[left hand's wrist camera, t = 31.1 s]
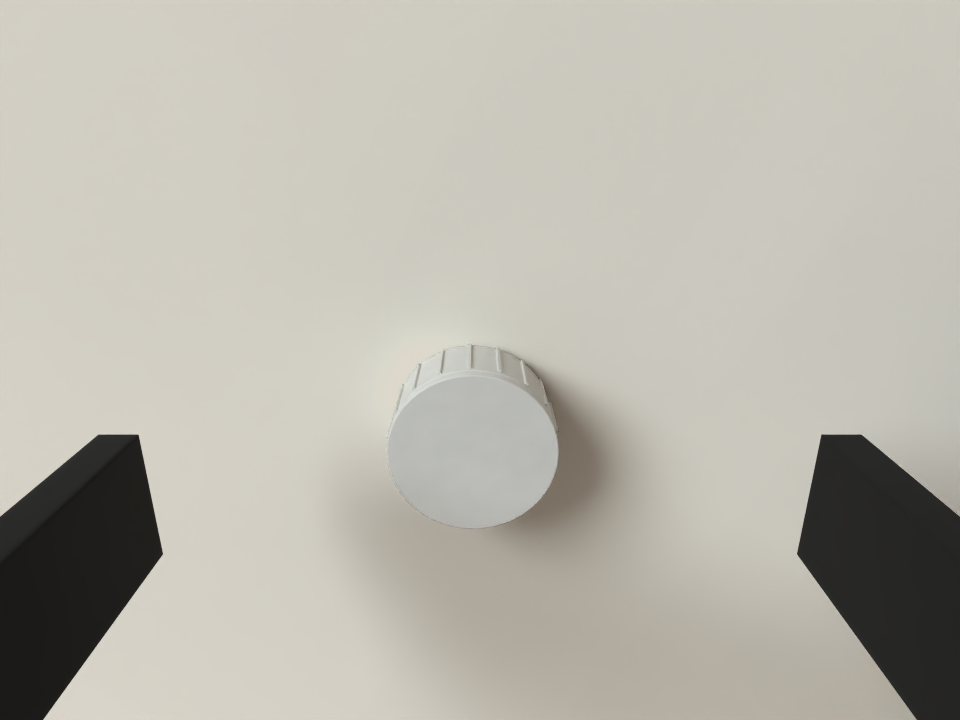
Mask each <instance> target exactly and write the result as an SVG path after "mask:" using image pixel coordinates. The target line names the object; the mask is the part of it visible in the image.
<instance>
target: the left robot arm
mask: <svg viewBox="0 0 960 720" xmlns="http://www.w3.org/2000/svg"><path fill="white" fill-rule="evenodd" d="M162 555H163V552H162V547H161V542H160V538H159V533H158V528H157V523H156V518H155V513H154V508H153V503H152V498H151V494H150V489H149V484H148V479H147V474H146V469H145V464H144V459H143V455H142V450H141V445H140V440H139V435H98V436H96V437H95V438H94V439H93V440H92V441H90V442H89V443H88V444H87V445H86V446H84V447H83V448H82V449H81V450H80V451H78V452H77V453H76V454H75V455H74V456H72V457H71V458H70V459H69V460H68V461H66V462H65V463H64V464H63V465H62V466H61V467H59V468H58V469H57V470H56V471H55V472H53V473H52V474H51V475H50V476H49V477H47V478H46V479H45V480H44V481H43V482H41V483H40V484H39V485H38V486H37V487H35V488H34V489H33V490H32V491H31V492H29V493H28V494H27V495H26V496H25V497H23V498H22V499H21V500H20V501H19V502H17V503H16V504H15V505H14V506H13V507H11V508H10V509H9V510H8V511H7V512H5V513H4V514H3V515H2V516H1V517H0V720H43V719H44V718H45V716H46V715H47V714H48V712H49V711H50V709H51V708H52V707H53V705H54V704H55V702H56V701H57V700H58V698H59V697H60V696H61V694H62V693H63V691H64V690H65V689H66V687H67V686H68V685H69V683H70V682H71V680H72V679H73V678H74V676H75V675H76V673H77V672H78V671H79V669H80V668H81V667H82V665H83V664H84V662H85V661H86V660H87V658H88V657H89V656H90V654H91V653H92V651H93V650H94V649H95V647H96V646H97V644H98V643H99V642H100V640H101V639H102V638H103V636H104V635H105V633H106V632H107V631H108V629H109V628H110V627H111V625H112V624H113V622H114V621H115V620H116V618H117V617H118V615H119V614H120V613H121V611H122V610H123V609H124V607H125V606H126V604H127V603H128V602H129V600H130V599H131V598H132V596H133V595H134V593H135V592H136V591H137V589H138V588H139V586H140V585H141V584H142V582H143V581H144V580H145V578H146V577H147V575H148V574H149V573H150V571H151V570H152V569H153V567H154V566H155V564H156V563H157V562H158V560H159V559H160V558H161V556H162ZM797 555H798V556H799V558H800V559H801V560H802V562H803V563H804V564H805V566H806V567H807V569H808V570H809V571H810V573H811V574H812V575H813V577H814V578H815V580H816V581H817V582H818V584H819V585H820V586H821V588H822V589H823V591H824V592H825V593H826V595H827V596H828V598H829V599H830V600H831V602H832V603H833V604H834V606H835V607H836V609H837V610H838V611H839V613H840V614H841V615H842V617H843V618H844V620H845V621H846V622H847V624H848V625H849V627H850V628H851V629H852V631H853V632H854V633H855V635H856V636H857V638H858V639H859V640H860V642H861V643H862V644H863V646H864V647H865V649H866V650H867V651H868V653H869V654H870V656H871V657H872V658H873V660H874V661H875V662H876V664H877V665H878V667H879V668H880V669H881V671H882V672H883V673H884V675H885V676H886V678H887V679H888V680H889V682H890V683H891V685H892V686H893V687H894V689H895V690H896V691H897V693H898V694H899V696H900V697H901V698H902V700H903V701H904V702H905V704H906V705H907V707H908V708H909V709H910V711H911V712H912V714H913V715H914V716H915V718H916V719H917V720H960V517H959V516H958V515H957V514H956V513H955V512H953V511H952V510H951V509H950V508H949V507H947V506H946V505H945V504H944V503H943V502H941V501H940V500H939V499H938V498H937V497H935V496H934V495H933V494H932V493H931V492H929V491H928V490H927V489H926V488H925V487H923V486H922V485H921V484H920V483H919V482H917V481H916V480H915V479H914V478H913V477H911V476H910V475H909V474H908V473H907V472H905V471H904V470H903V469H902V468H901V467H899V466H898V465H897V464H896V463H895V462H894V461H892V460H891V459H890V458H889V457H888V456H886V455H885V454H884V453H883V452H882V451H880V450H879V449H878V448H877V447H876V446H874V445H873V444H872V443H871V442H870V441H868V440H867V439H866V438H865V437H864V436H862V435H821V440H820V445H819V450H818V455H817V459H816V464H815V469H814V474H813V479H812V484H811V489H810V494H809V498H808V503H807V508H806V513H805V518H804V523H803V528H802V533H801V538H800V542H799V547H798V552H797Z"/></svg>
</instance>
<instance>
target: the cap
mask: <svg viewBox="0 0 960 720" xmlns="http://www.w3.org/2000/svg"><path fill="white" fill-rule="evenodd" d="M556 432H559V431H558V427H557V423H556V419H555V415H554V412H553V408H552V404H551V402H548V399H547V396H546V392H545V390H544V386H543V382H542V380H541V379H538V378H537V376H536V375H535V374H534V373H533V372H532V370H531V369H530V368H529V367H528V366H526V365H525V362H524V360H521V361H520V360H519V359H517V358H516V357H514V356H512V355H510V354H508V353H506V352H504V351H501V350H500V348H497V347H496V349H495V348H490V347H484V346H472V345H471V344H468V346H462V347H457V348H452V349H449V350H445V351H444V350H441V351H440V353H438V354H436V355H434V356H432V357H431V358H429V359H428V360H426V361H425V362H423V363H422V364H420V363H419V364H418V365H417V368H416V370H415V371H414V372H413V373H412V374H411V375H410V377H409V378H408V380H407V381H406V383H405V385H404V384H402V386H401V388H400V392H399V395H398V399H397V402H396V406H395V408H394V412H393V415H392V419H391V422H390V426H389V429H388V433H387V438H388V442H387V461H388V467H389V471H390V474H391V477H392V479H393V481H394V484H395V485H396V487H397V489H398V490H399V492H400V493H401V495H402V496H403V497H404V498H405V500H406V501H407V502H408V503H409V504H410V505H411V506H413V507H414V508H415V509H416V510H418V511H419V512H420V513H422V514H423V515H425V516H427V517H428V518H430V519H432V520H434V521H437V522H439V523H442V524H445V525H449V526H453V527H458V528H469V529H477V528H487V527H493V526H497V525H501V524H504V523H507V522H509V521H511V520H514V519H516V518H517V517H519V516H521V515H523V514H524V513H526V512H527V511H528V510H530V509H531V508H532V507H533V506H534V505H535V504H536V503H538V502H539V501H540V499H541V498H542V497H543V496H544V494H545V493H546V492H547V490H548V488H549V487H550V485H551V483H552V481H553V479H554V476H555V474H556V470H557V466H558V460H559V443H558V437H557V433H556Z"/></svg>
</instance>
